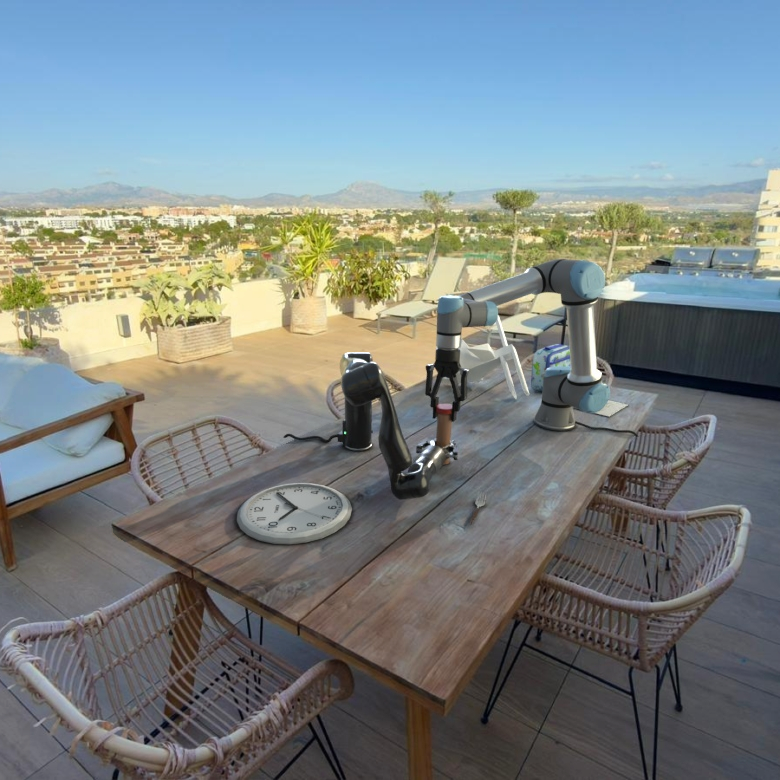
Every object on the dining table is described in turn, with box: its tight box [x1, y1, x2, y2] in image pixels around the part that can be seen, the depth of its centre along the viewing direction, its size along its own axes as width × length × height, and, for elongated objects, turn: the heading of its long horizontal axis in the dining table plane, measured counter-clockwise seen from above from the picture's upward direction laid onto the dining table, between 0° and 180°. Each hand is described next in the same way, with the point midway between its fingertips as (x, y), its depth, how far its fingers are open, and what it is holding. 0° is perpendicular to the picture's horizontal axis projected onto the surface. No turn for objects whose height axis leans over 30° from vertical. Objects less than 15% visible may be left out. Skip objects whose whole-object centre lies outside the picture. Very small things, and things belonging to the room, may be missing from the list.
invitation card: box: [573, 399, 629, 418], centre depth 226 cm, size 21×1×15 cm
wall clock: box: [236, 482, 353, 545], centre depth 139 cm, size 30×2×30 cm
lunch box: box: [530, 343, 571, 392], centre depth 248 cm, size 26×11×21 cm, turn 134°
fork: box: [469, 491, 487, 526], centre depth 140 cm, size 3×16×2 cm, turn 160°
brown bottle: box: [435, 412, 453, 466], centre depth 168 cm, size 5×5×18 cm
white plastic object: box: [441, 315, 531, 400], centre depth 245 cm, size 37×45×31 cm
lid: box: [436, 403, 452, 414], centre depth 165 cm, size 6×6×2 cm
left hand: (445, 441), depth 171 cm, fingers closed on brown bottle, 4 cm apart
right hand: (444, 418), depth 166 cm, fingers closed on lid, 6 cm apart
